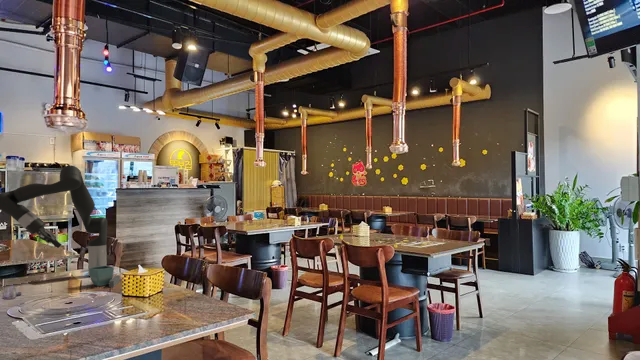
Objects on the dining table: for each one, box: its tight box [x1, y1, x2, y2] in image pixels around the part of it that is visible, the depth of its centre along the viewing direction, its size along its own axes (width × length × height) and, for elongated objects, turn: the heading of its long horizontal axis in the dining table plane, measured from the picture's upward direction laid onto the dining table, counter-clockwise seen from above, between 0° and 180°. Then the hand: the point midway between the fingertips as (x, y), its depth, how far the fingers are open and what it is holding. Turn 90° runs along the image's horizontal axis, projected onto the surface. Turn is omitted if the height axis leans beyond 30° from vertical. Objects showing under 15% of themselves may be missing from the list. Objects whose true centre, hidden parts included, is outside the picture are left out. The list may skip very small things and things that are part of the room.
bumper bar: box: [108, 274, 121, 288], centre depth 212 cm, size 2×16×3 cm, turn 16°
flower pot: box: [89, 265, 115, 287], centre depth 211 cm, size 9×9×9 cm
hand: (59, 246), depth 206 cm, fingers closed
